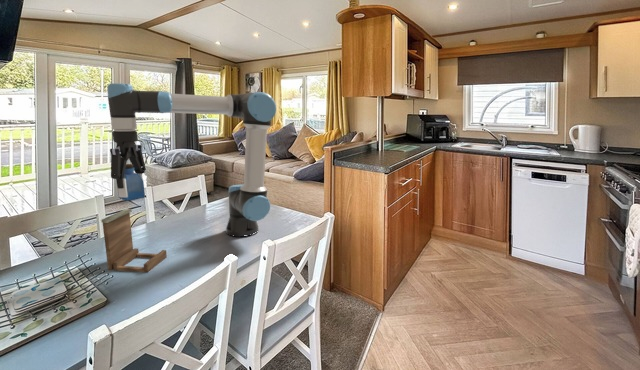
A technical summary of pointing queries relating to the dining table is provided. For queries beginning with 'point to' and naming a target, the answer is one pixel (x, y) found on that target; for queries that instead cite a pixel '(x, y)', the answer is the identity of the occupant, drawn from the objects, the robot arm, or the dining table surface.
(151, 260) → the wooden l-shaped stand
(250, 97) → the robot arm
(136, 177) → the perfume bottle
